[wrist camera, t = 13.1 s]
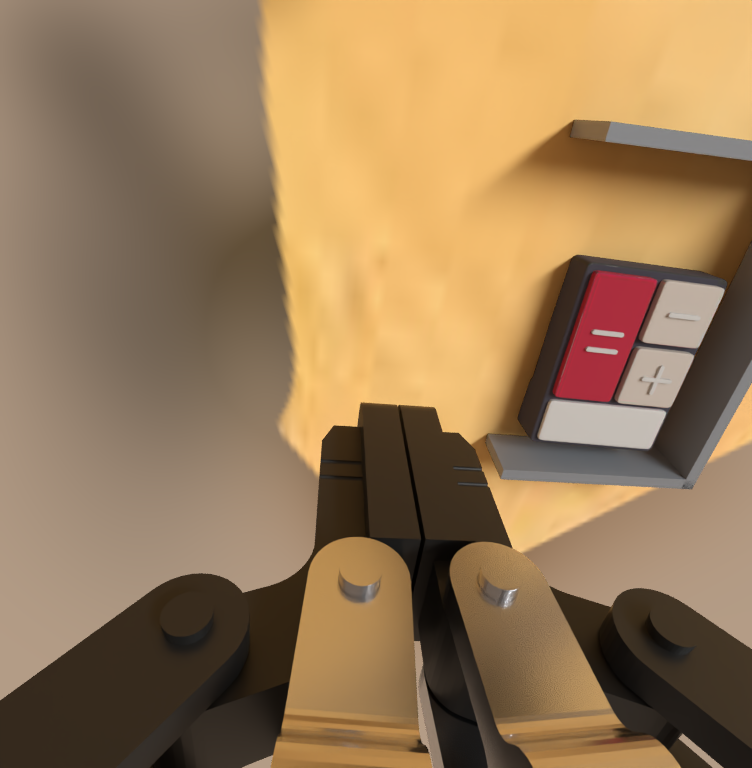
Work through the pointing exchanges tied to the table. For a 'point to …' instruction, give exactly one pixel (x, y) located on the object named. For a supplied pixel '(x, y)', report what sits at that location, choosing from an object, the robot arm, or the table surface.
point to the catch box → (700, 388)
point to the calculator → (617, 352)
